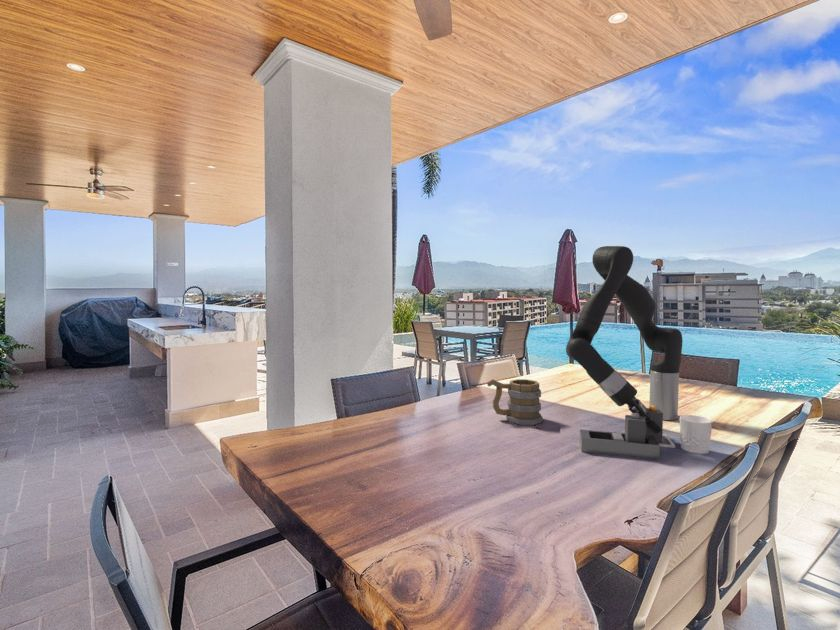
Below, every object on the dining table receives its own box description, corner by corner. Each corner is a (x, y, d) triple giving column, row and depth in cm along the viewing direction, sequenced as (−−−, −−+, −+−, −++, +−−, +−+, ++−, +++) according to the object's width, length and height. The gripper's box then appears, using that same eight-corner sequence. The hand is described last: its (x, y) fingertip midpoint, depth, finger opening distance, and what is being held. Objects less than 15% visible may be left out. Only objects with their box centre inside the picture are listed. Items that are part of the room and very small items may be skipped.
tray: (631, 436, 137) (631, 431, 137) (666, 439, 134) (666, 434, 134) (637, 447, 127) (637, 442, 127) (674, 451, 125) (675, 445, 124)
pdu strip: (579, 445, 130) (579, 428, 129) (652, 452, 124) (653, 434, 123) (581, 455, 122) (581, 437, 122) (659, 463, 116) (659, 444, 116)
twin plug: (624, 448, 124) (625, 410, 123) (641, 450, 123) (642, 412, 122) (627, 454, 120) (628, 415, 119) (644, 455, 119) (645, 416, 118)
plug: (642, 438, 134) (643, 404, 133) (658, 440, 132) (659, 405, 132) (645, 443, 129) (646, 407, 129) (662, 445, 128) (663, 408, 127)
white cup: (695, 459, 119) (697, 424, 118) (672, 449, 126) (673, 416, 126) (717, 456, 121) (718, 421, 120) (693, 446, 128) (694, 413, 128)
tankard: (538, 414, 161) (538, 376, 160) (544, 425, 149) (545, 383, 148) (485, 413, 163) (485, 375, 162) (487, 424, 151) (487, 382, 150)
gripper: (628, 384, 126) (671, 427, 122) (624, 375, 139) (663, 413, 135) (608, 400, 128) (650, 442, 125) (606, 390, 141) (644, 427, 138)
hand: (657, 427), depth 130 cm, fingers open, 8 cm apart
